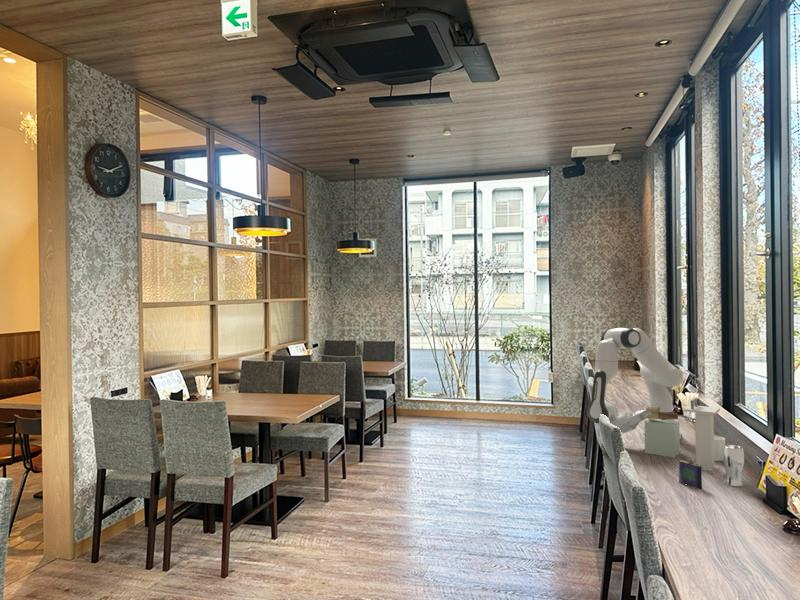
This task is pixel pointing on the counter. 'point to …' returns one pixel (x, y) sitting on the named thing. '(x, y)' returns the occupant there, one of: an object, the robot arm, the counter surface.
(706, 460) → the tall stand
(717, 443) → the white cup
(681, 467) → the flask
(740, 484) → the beer glass
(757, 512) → the counter surface
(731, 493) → the counter surface
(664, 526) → the counter surface
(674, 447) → the sage pedestal
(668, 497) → the counter surface
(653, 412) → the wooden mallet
